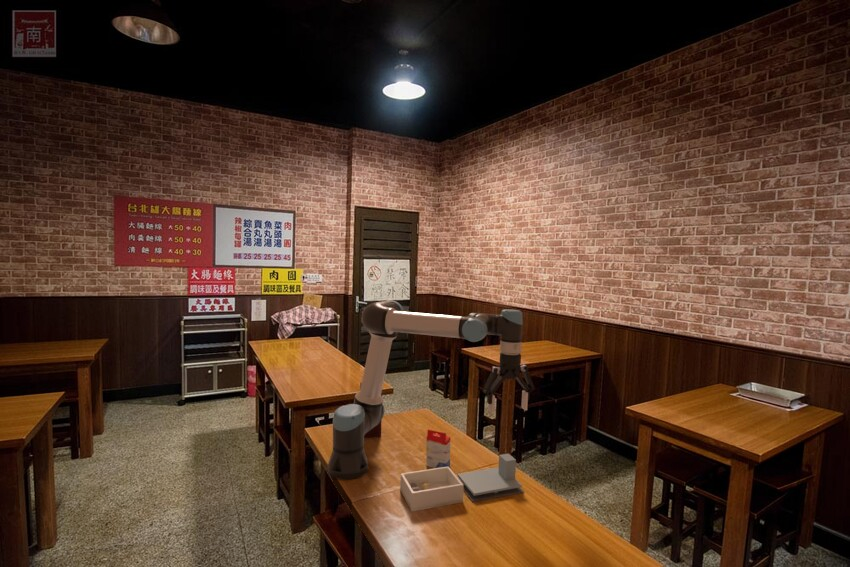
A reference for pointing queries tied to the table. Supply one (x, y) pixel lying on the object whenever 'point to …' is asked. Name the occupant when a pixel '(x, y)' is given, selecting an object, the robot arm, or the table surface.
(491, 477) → the lid
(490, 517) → the table surface
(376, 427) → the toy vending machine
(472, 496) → the mat
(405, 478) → the tub
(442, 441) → the ink box
